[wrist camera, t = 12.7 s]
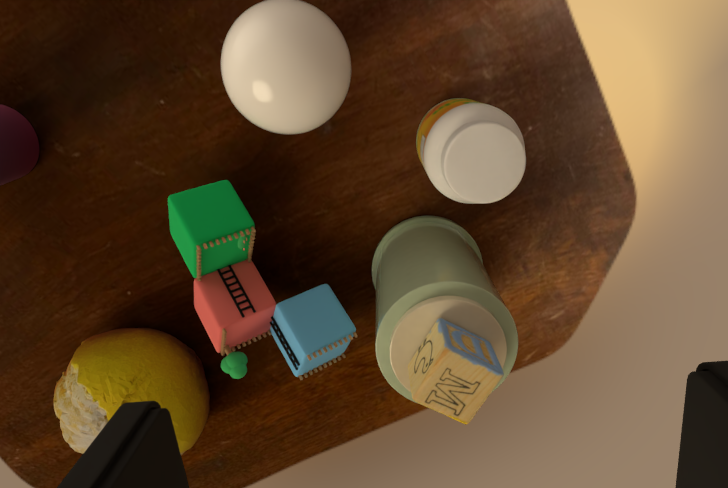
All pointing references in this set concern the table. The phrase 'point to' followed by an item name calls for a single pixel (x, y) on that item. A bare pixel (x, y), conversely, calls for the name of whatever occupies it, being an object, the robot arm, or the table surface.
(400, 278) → the upturned tumbler
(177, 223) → the building blocks
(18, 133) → the cup
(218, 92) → the table surface
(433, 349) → the alphabet block
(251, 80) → the lightbulb
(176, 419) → the fruit
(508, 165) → the supplement bottle
